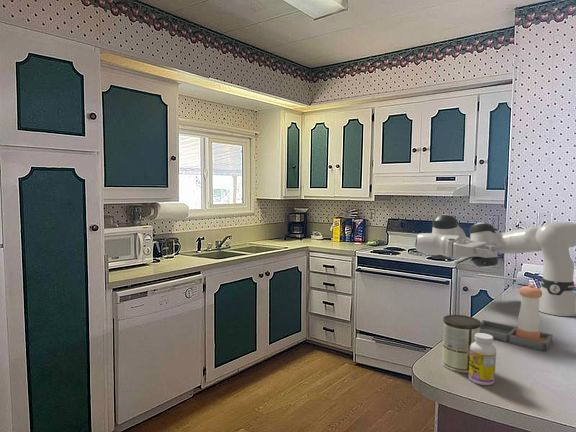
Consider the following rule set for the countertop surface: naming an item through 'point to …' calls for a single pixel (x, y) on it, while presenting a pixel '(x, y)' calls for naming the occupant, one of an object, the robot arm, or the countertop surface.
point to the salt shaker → (529, 313)
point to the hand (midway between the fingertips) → (492, 250)
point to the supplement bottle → (482, 360)
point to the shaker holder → (514, 335)
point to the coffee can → (458, 341)
